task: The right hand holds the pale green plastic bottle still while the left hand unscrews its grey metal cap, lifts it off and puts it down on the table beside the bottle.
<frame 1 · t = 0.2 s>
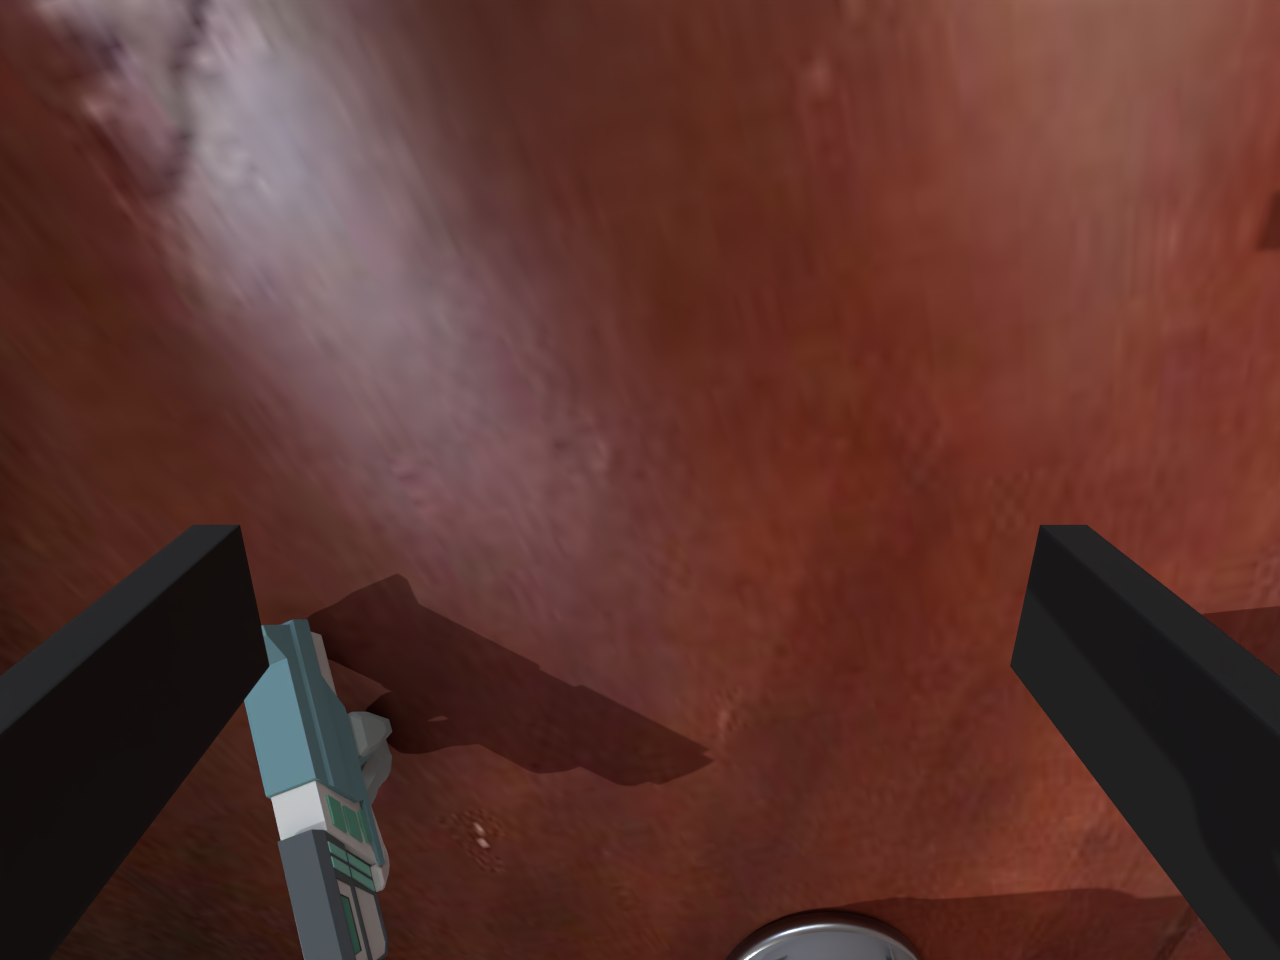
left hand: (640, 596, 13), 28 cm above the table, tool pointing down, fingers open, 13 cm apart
toy gun: (356, 706, 48), on the table
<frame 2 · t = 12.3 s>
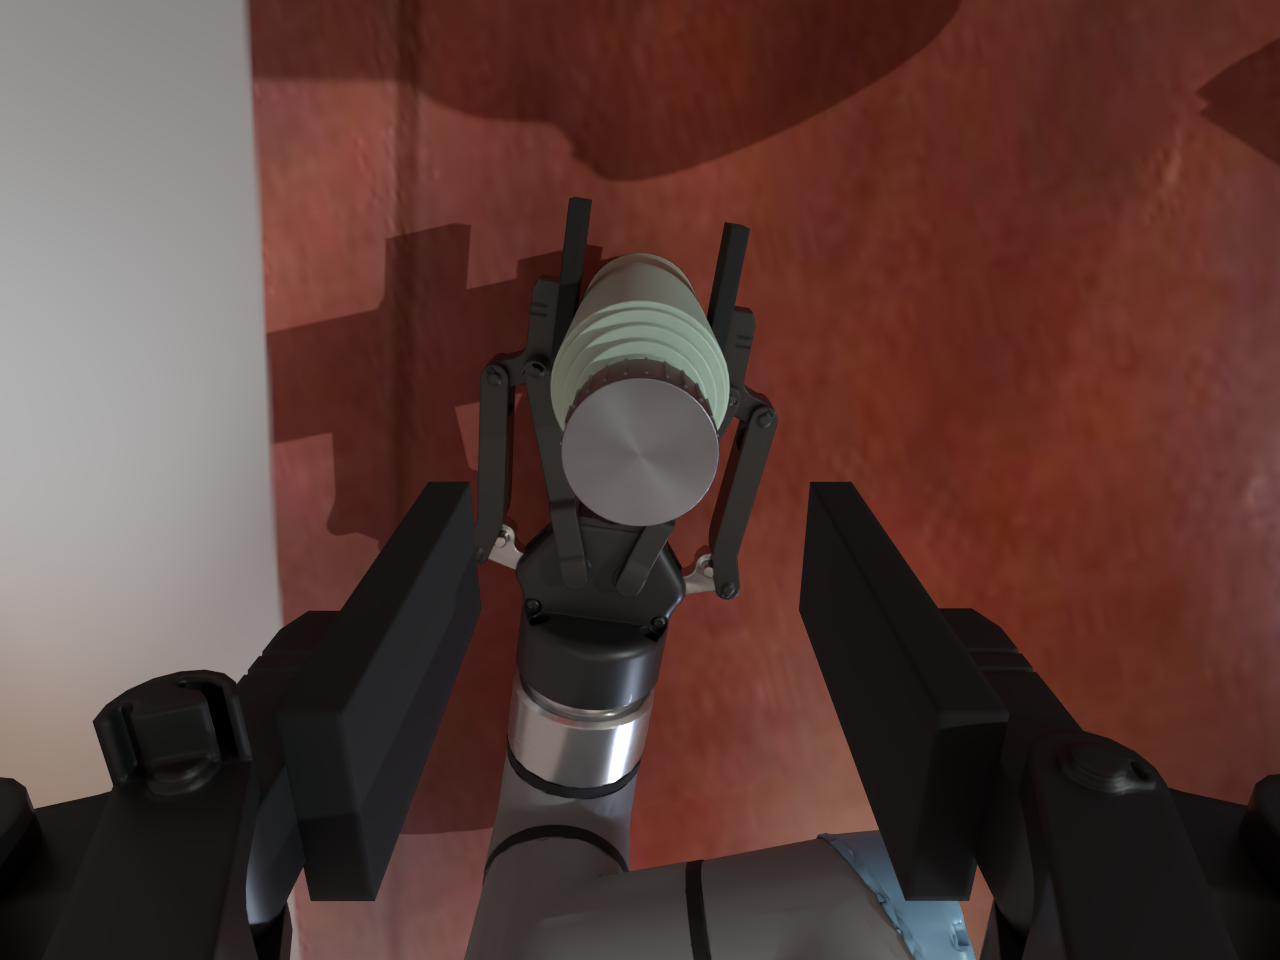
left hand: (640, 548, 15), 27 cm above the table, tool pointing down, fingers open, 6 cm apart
right hand: (659, 213, 32), fingers closed on bottle, 6 cm apart
cap: (640, 451, 20), point 21 cm above the table, screwed on, not yet turned
bottle: (640, 311, 40), on the table, touching right hand
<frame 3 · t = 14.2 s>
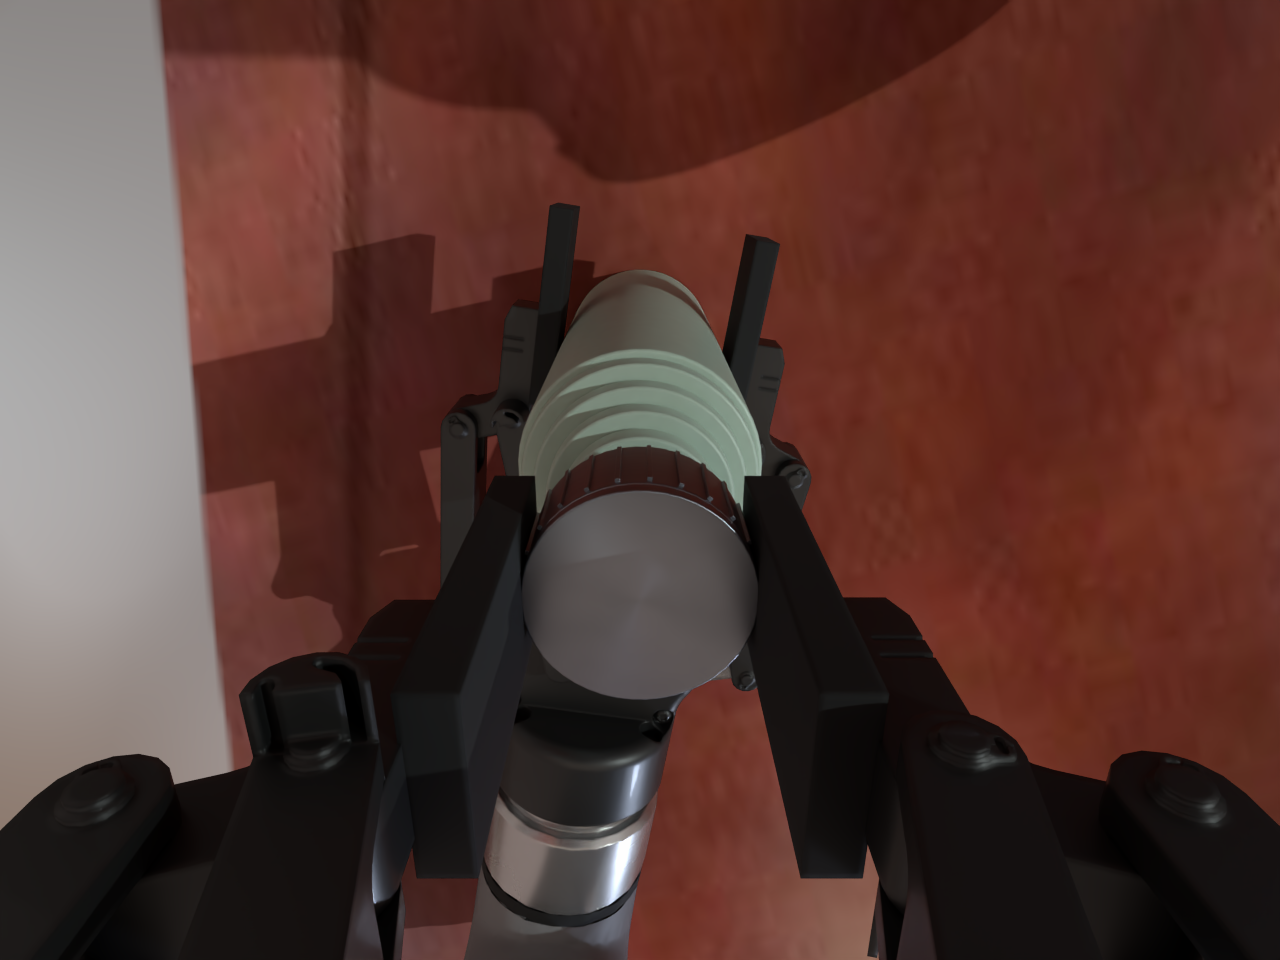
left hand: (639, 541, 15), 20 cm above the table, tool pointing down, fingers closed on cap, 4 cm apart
cap: (640, 592, 13), point 21 cm above the table, screwed on, not yet turned, touching left hand
bottle: (640, 339, 33), on the table, touching right hand
when the left hand's fingers open (1 cm above the table, at t = 30.9 s): cap stays where it is, point 2 cm above the table.
when the right hand's fingers open (6 cm above the table, at t = 32.1 s): bottle stays where it is, on the table.
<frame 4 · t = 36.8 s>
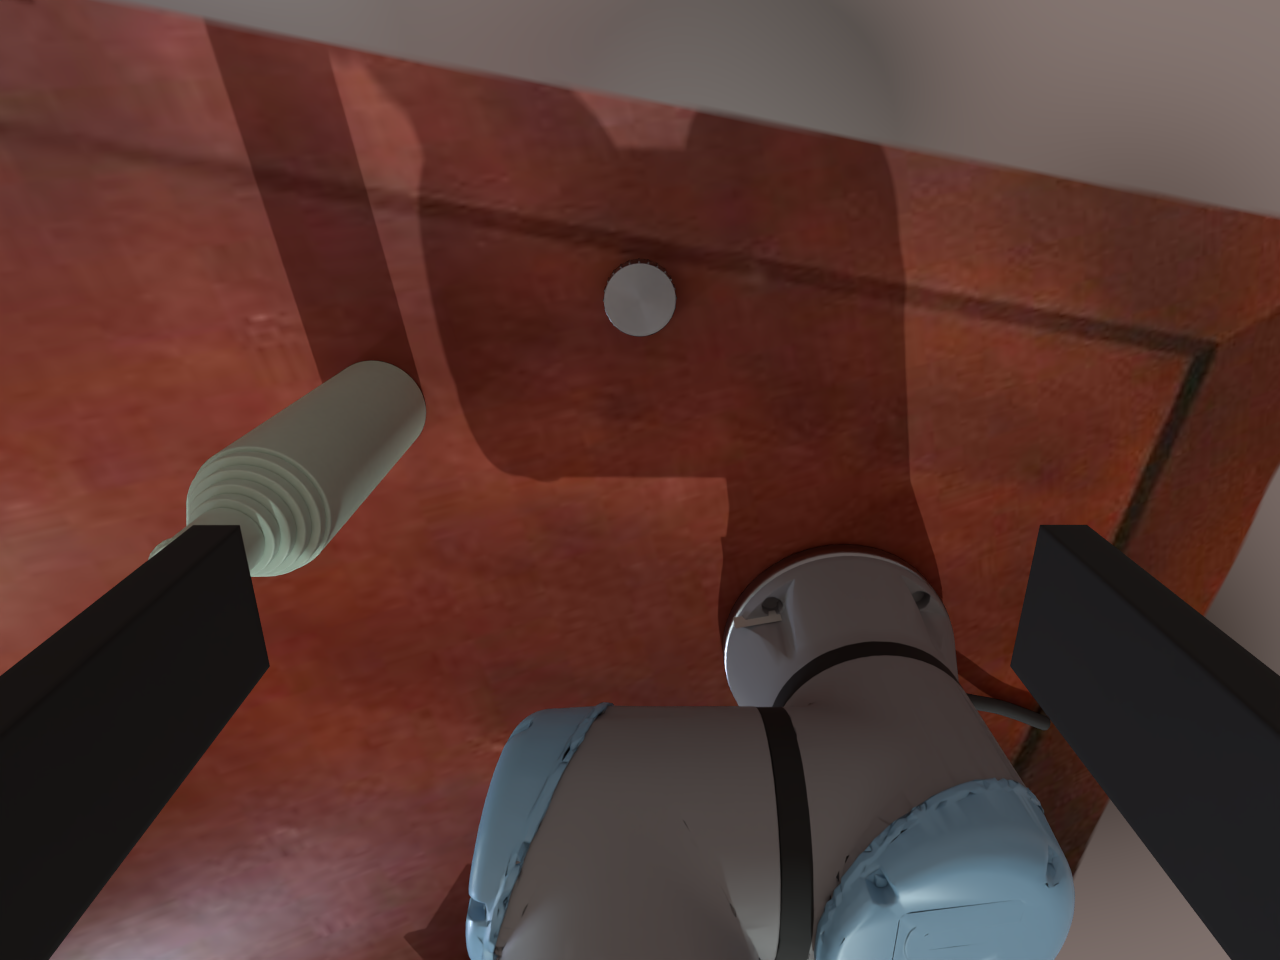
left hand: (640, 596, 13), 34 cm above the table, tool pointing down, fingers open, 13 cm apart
cap: (639, 299, 43), point 2 cm above the table, off its thread
bottle: (378, 407, 47), on the table
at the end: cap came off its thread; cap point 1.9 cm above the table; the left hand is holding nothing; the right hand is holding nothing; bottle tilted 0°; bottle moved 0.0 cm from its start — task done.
